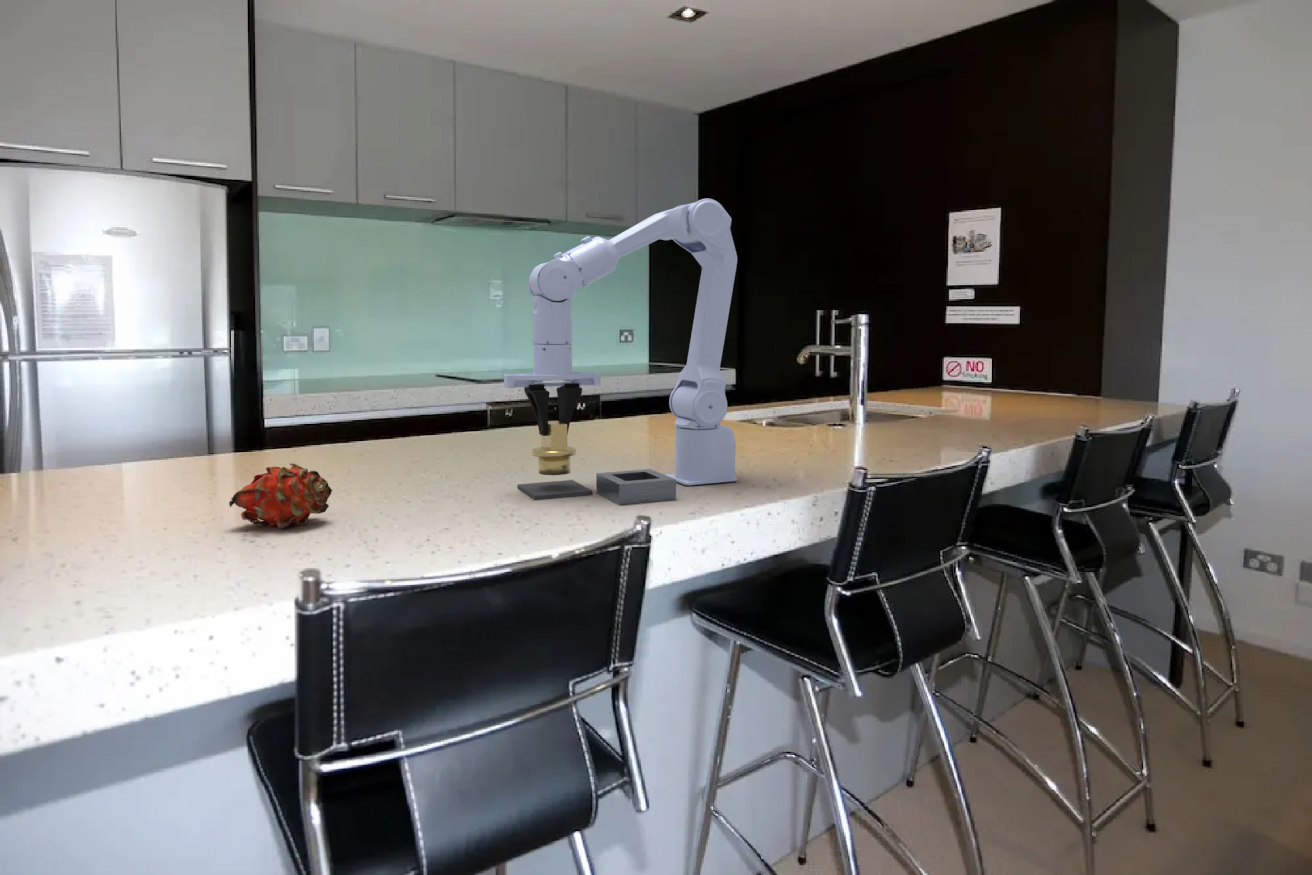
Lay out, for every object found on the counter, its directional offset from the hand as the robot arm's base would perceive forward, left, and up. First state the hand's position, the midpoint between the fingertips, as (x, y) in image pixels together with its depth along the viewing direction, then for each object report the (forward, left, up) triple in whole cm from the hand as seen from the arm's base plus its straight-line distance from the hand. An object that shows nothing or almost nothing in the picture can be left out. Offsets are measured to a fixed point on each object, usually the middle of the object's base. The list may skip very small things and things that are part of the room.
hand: (553, 434), depth 127 cm
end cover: (0, 0, -6) cm, 6 cm away
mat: (0, 0, -9) cm, 9 cm away
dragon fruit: (+38, +6, -9) cm, 40 cm away
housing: (-10, +8, -9) cm, 16 cm away
